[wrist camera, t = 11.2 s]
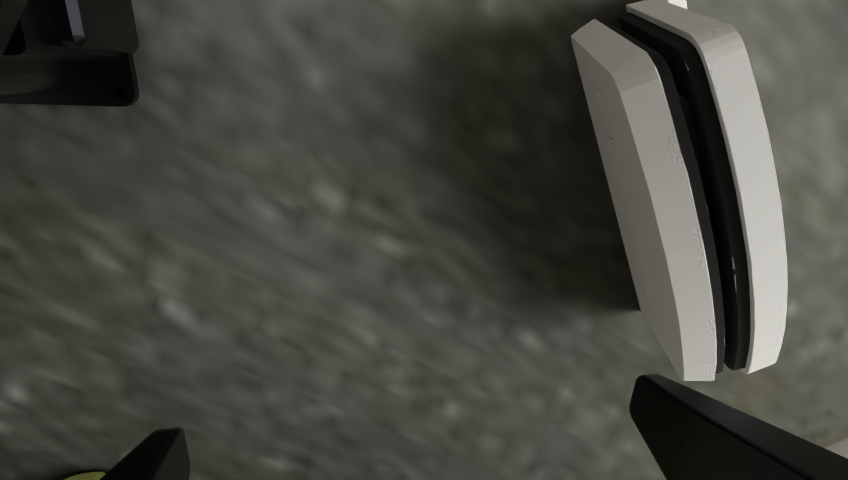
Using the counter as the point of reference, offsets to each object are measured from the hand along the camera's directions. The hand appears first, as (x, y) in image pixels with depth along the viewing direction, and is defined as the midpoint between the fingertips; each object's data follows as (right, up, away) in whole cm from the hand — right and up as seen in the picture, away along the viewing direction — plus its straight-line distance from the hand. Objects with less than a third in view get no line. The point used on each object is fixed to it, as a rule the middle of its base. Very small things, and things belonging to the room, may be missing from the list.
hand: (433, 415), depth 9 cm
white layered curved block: (+11, +7, +15) cm, 19 cm away
